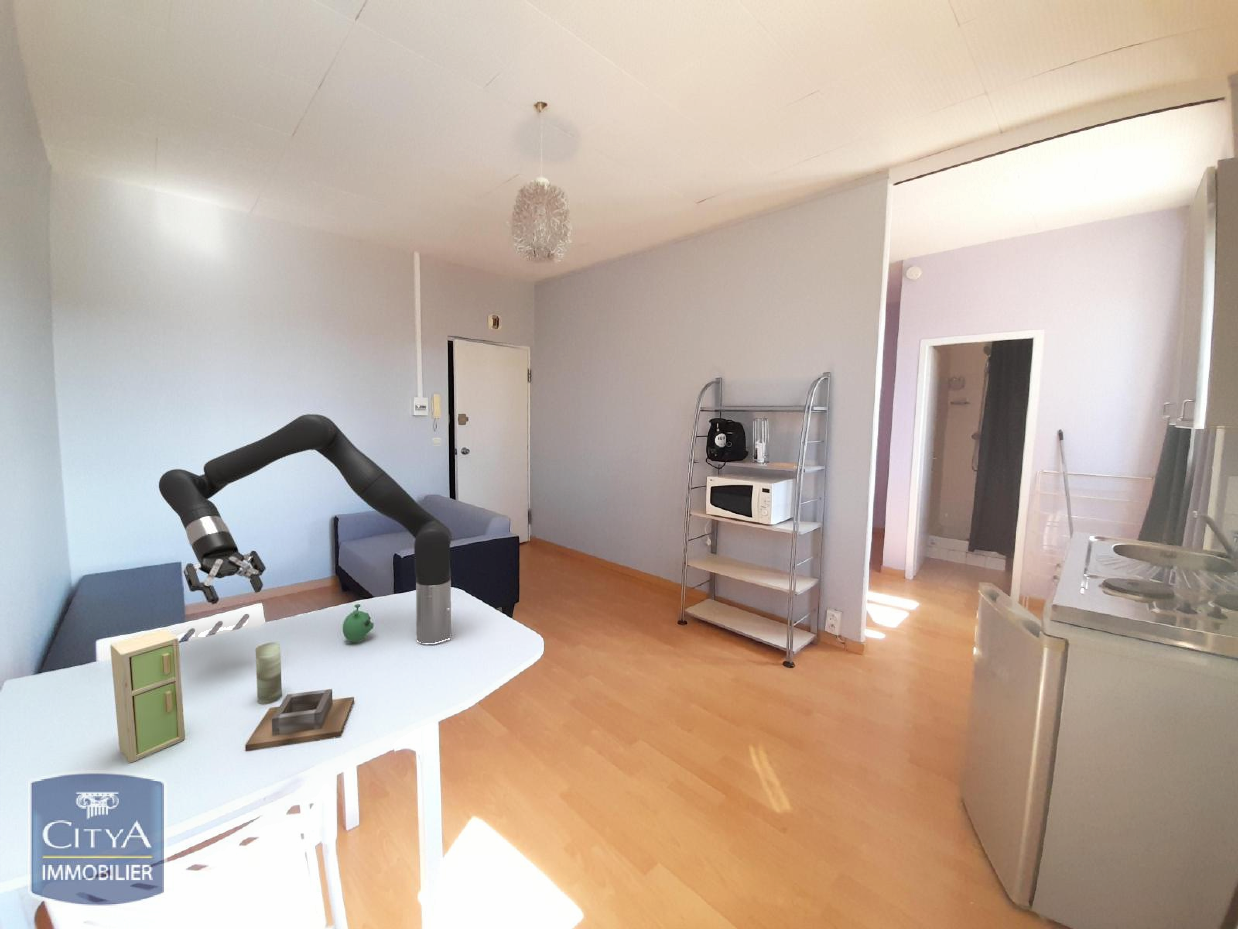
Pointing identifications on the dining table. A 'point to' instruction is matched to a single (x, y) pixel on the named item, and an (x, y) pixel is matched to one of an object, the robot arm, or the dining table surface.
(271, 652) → the pale green cylinder
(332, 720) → the jig
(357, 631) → the alien toy
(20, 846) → the dining table surface
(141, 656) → the toy refrigerator
